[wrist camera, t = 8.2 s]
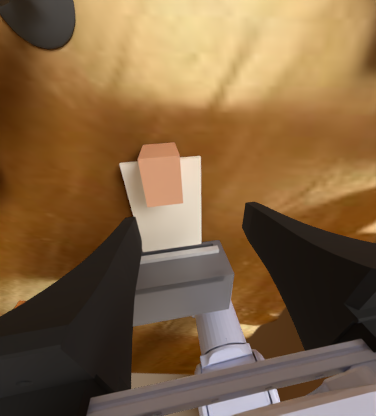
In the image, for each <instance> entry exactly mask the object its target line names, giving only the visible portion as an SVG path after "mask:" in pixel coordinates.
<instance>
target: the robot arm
mask: <svg viewBox="0 0 376 416" xmlns="http://www.w3.org/2000/svg"><path fill="white" fill-rule="evenodd" d="M242 228H243V230H244V233H245V235H246V237H247V239H248V241H249V242H250V244H251V245H252V247H253V248H254V250H255V251H256V253H257V254H258V256H259V257H260V259H261V260H262V262H263V263H264V265H265V266H266V268H267V270H268V271H269V273H270V275H271V277H272V279H273V281H274V283H275V284H276V286H277V288H278V290H279V292H280V294H281V296H282V299H283V301H284V303H285V305H286V307H287V309H288V311H289V313H290V316H291V318H292V320H293V322H294V325H295V327H296V330H297V332H298V334H299V337H300V339H301V342H302V344H303V347H304V349H305V351H303V352H298V353H294V354H289V355H285V356H280V357H275V358H271V359H266V360H264V358H263V357H262V355H261V354H260V353H259V352H257V350H255V349H253V350H251V348H250V345H249V343H246V340H245V337H244V335H243V332H242V329H241V327H240V324H239V321H238V318H237V316H236V313H235V310H234V307H233V305H232V302H231V298H230V305H229V309H226V310H221V311H215V312H210V313H204V314H199V315H193V316H192V318H195V319H196V324H197V330H198V336H199V342H200V348H201V354H202V356H200V360H201V364H198V365H197V368H196V370H195V375H193V376H188V377H184V378H180V379H175V380H170V381H166V382H161V383H156V384H152V385H147V386H143V387H138V388H134V389H131V360H132V333H133V315H134V300H135V291H136V284H137V279H138V273H139V267H140V261H141V255H142V239H141V235H140V232H139V228H138V224H137V220H136V217H128V218H125V219H124V220H123V221H122V222H121V223H120V225H119V226H118V227H117V228H116V229H115V230H114V231H113V233H112V234H111V235H110V236H109V237H108V238H107V239H106V240H105V241H104V242H103V243H102V244H101V245H100V246H99V247H98V248H97V249H96V250H95V251H94V252H93V253H92V254H91V255H90V256H89V257H87V258H86V259H85V260H84V261H83V262H82V263H80V264H79V265H78V266H77V267H75V268H74V269H73V270H71V271H70V272H69V273H67V274H66V275H65V276H63V277H62V278H61V279H59V280H58V281H57V282H55V283H54V284H52V285H51V286H49V287H48V288H46V289H45V290H43V291H42V292H40V293H39V294H37V295H36V296H34V297H33V298H31V299H29V300H28V301H26V302H24V303H23V304H21V305H19V306H18V307H16V308H14V309H13V310H11V311H9V312H7V313H6V314H4V315H2V316H1V317H0V416H164V415H168V414H172V413H176V412H180V411H184V410H189V409H193V408H197V407H198V409H199V414H200V416H376V243H371V242H366V241H362V240H357V239H353V238H349V237H346V236H342V235H338V234H335V233H331V232H328V231H325V230H322V229H319V228H316V227H313V226H310V225H307V224H304V223H302V222H300V221H297V220H295V219H292V218H290V217H288V216H285V215H283V214H281V213H279V212H277V211H274V210H272V209H270V208H268V207H266V206H264V205H262V204H259V203H257V202H248V203H246V204H245V211H244V218H243V224H242ZM232 287H233V285H232ZM231 293H232V292H231ZM336 374H338V375H336ZM332 375H335V376H333V377H330V378H327V379H325V380H324V382H323V384H322V385H321V386H320V387H319V388H317V389H316V390H314V391H313V392H311V393H309V394H308V395H307V396H304V397H299V398H295V399H291V400H287V401H283V402H280V399H279V396H278V393H277V390H276V389H277V388H281V387H286V386H290V385H294V384H298V383H302V382H307V381H311V380H315V379H319V378H324V377H328V376H332Z"/></svg>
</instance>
